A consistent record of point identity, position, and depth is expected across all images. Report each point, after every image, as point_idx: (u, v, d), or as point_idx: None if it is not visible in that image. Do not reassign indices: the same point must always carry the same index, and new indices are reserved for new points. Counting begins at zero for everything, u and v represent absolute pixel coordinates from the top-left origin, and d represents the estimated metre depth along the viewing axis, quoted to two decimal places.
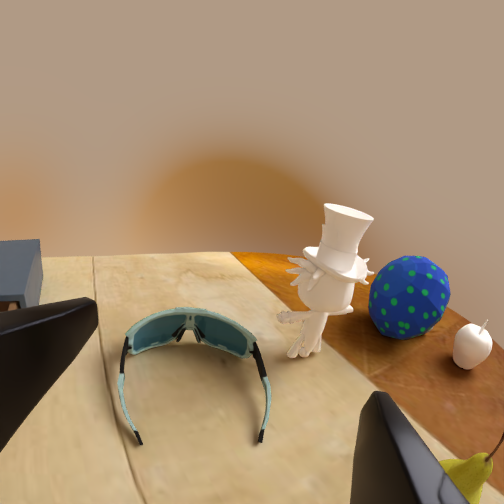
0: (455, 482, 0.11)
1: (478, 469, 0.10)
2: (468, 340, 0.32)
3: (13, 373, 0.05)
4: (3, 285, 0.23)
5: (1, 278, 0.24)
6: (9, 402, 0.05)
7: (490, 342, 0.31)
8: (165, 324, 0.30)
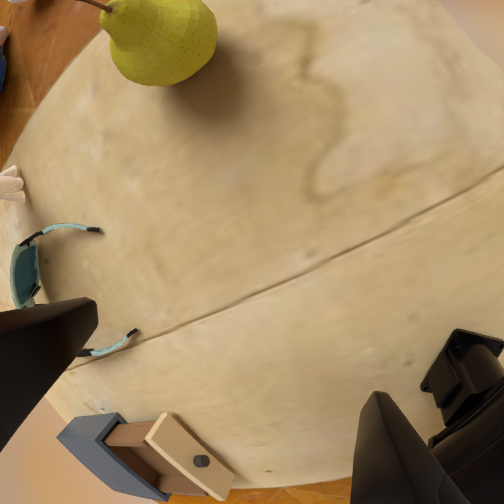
0: (131, 43, 0.12)
1: (117, 21, 0.10)
2: None
3: (13, 373, 0.05)
4: (102, 454, 0.28)
5: (100, 457, 0.29)
6: (9, 402, 0.05)
7: None
8: None
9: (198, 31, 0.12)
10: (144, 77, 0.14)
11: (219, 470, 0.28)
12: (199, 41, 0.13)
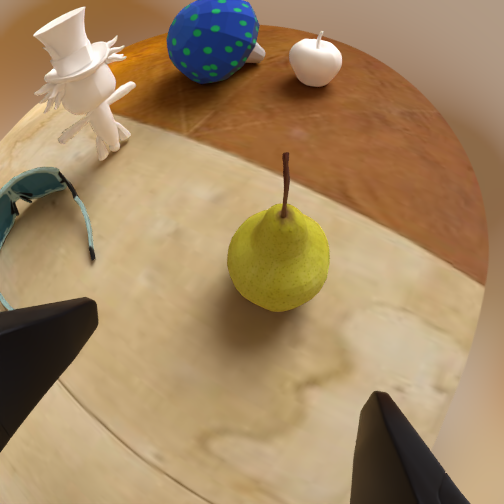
0: (258, 247, 0.17)
1: (273, 230, 0.15)
2: (301, 56, 0.30)
3: (13, 373, 0.05)
4: None
5: None
6: (9, 402, 0.05)
7: (335, 53, 0.30)
8: None
9: (293, 298, 0.17)
10: (233, 269, 0.18)
11: None
12: (284, 302, 0.18)
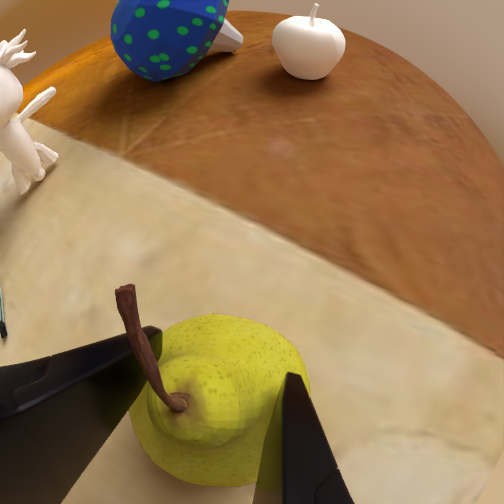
0: None
1: (162, 429, 0.06)
2: (288, 37, 0.20)
3: (79, 424, 0.05)
4: None
5: None
6: (73, 454, 0.05)
7: (336, 33, 0.20)
8: None
9: (232, 486, 0.08)
10: (133, 426, 0.09)
11: None
12: None
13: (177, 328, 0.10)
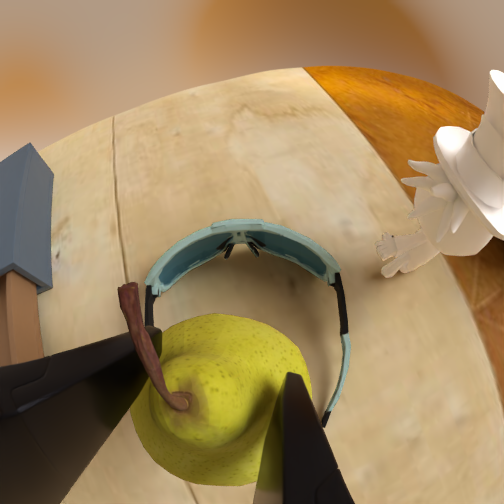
0: None
1: (163, 428, 0.06)
2: None
3: (79, 424, 0.05)
4: None
5: None
6: (73, 454, 0.05)
7: None
8: (202, 243, 0.21)
9: (234, 485, 0.08)
10: (134, 426, 0.09)
11: None
12: None
13: (178, 327, 0.10)
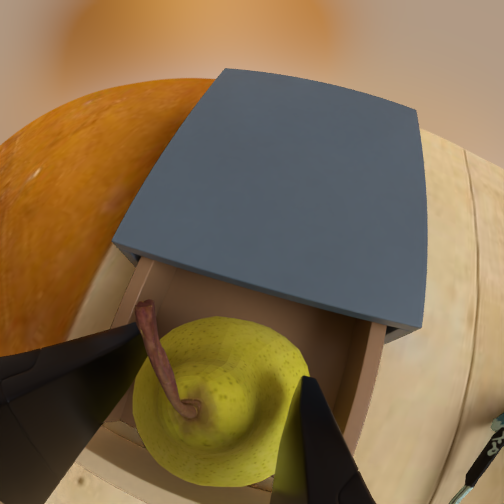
0: None
1: (172, 434, 0.06)
2: None
3: (67, 416, 0.05)
4: (367, 268, 0.12)
5: (358, 232, 0.13)
6: (61, 446, 0.05)
7: None
8: None
9: (237, 486, 0.08)
10: (137, 429, 0.09)
11: None
12: None
13: (181, 331, 0.10)
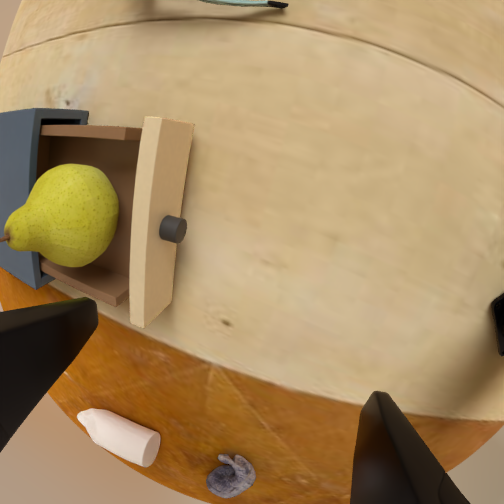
0: (46, 248, 0.14)
1: (21, 243, 0.12)
2: None
3: (13, 373, 0.05)
4: (18, 147, 0.16)
5: (8, 155, 0.16)
6: (9, 402, 0.05)
7: None
8: None
9: (86, 202, 0.15)
10: (78, 263, 0.16)
11: (168, 272, 0.21)
12: (94, 209, 0.15)
13: None
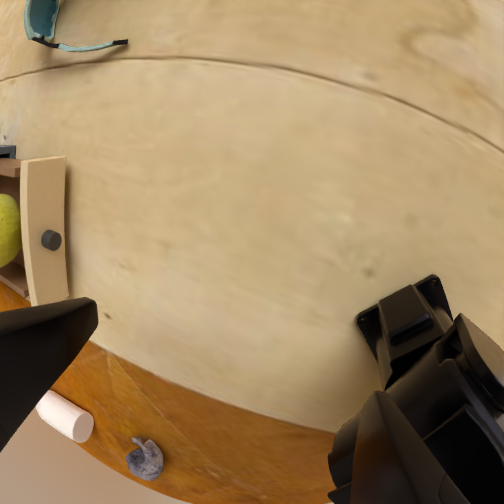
0: None
1: None
2: None
3: (13, 373, 0.05)
4: None
5: None
6: (9, 402, 0.05)
7: None
8: (39, 3, 0.14)
9: None
10: None
11: (59, 273, 0.23)
12: None
13: None
